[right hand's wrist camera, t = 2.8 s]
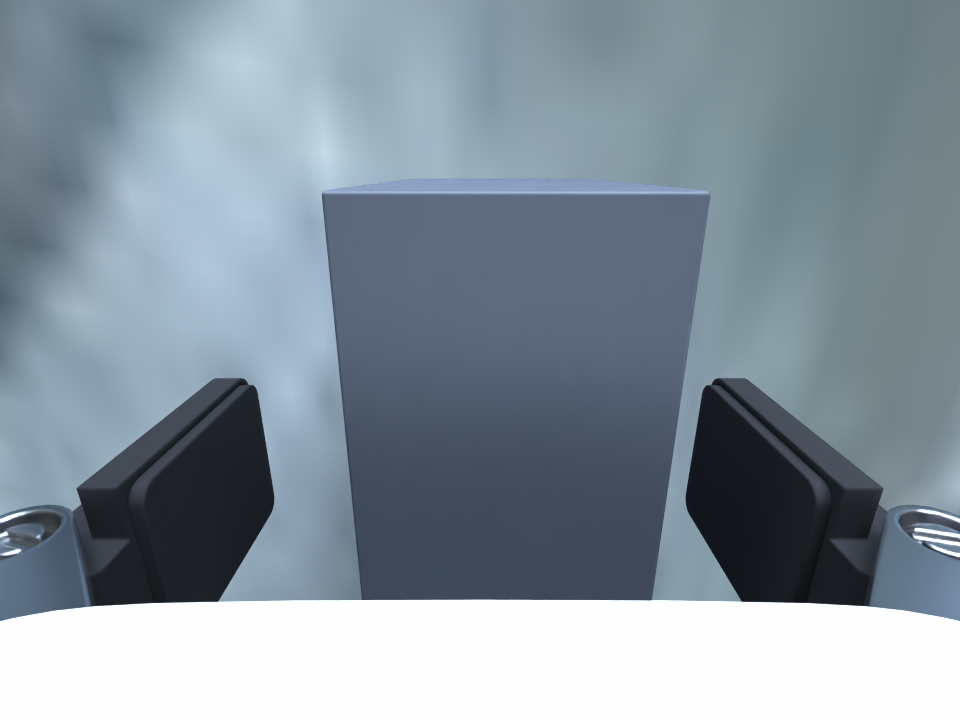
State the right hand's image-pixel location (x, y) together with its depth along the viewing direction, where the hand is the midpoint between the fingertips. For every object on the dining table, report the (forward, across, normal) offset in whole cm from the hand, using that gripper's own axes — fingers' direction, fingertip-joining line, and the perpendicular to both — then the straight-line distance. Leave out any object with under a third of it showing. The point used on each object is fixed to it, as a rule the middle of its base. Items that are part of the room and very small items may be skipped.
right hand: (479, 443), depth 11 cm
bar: (+4, 0, -25) cm, 26 cm away
